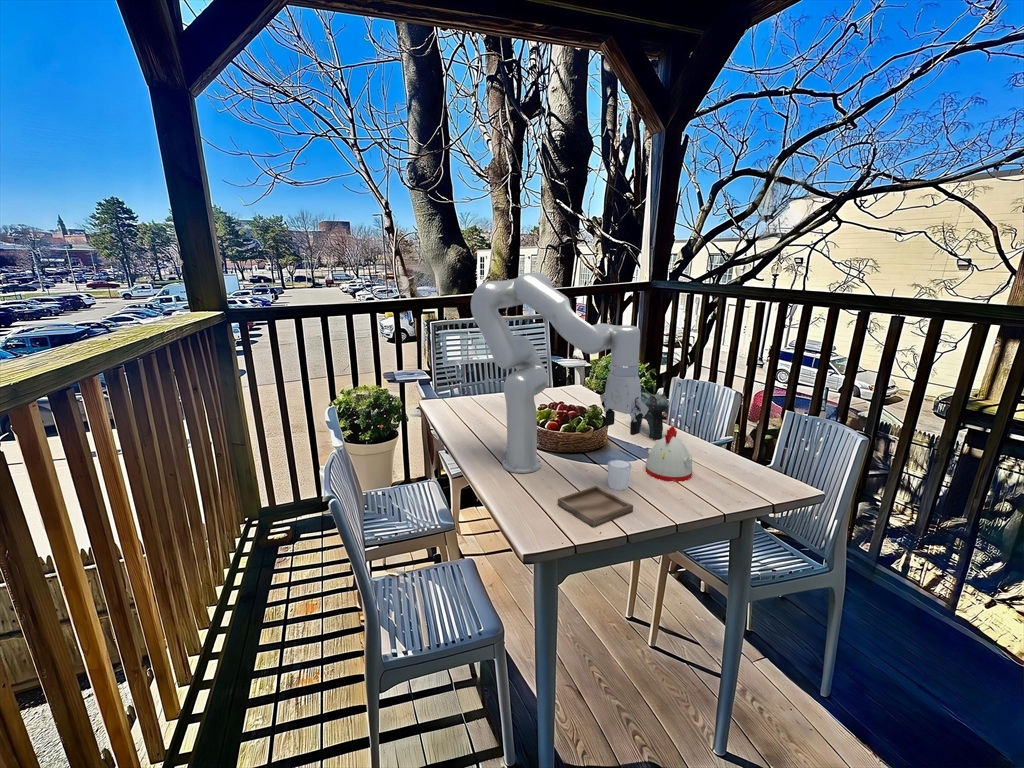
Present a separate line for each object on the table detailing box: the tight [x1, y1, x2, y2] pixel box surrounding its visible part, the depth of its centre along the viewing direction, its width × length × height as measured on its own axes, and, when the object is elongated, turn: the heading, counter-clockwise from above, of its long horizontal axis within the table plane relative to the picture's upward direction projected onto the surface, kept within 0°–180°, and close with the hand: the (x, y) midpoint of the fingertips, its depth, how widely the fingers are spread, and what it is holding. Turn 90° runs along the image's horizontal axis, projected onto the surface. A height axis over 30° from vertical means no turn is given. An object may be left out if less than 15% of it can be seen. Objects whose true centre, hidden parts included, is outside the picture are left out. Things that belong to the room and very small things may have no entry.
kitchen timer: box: [645, 425, 693, 483], centre depth 148 cm, size 14×14×15 cm
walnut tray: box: [557, 485, 634, 528], centre depth 127 cm, size 14×14×2 cm
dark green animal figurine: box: [630, 383, 669, 441], centre depth 182 cm, size 20×6×20 cm, turn 14°
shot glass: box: [607, 459, 632, 491], centre depth 139 cm, size 7×7×7 cm
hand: (621, 429), depth 136 cm, fingers open, 9 cm apart
